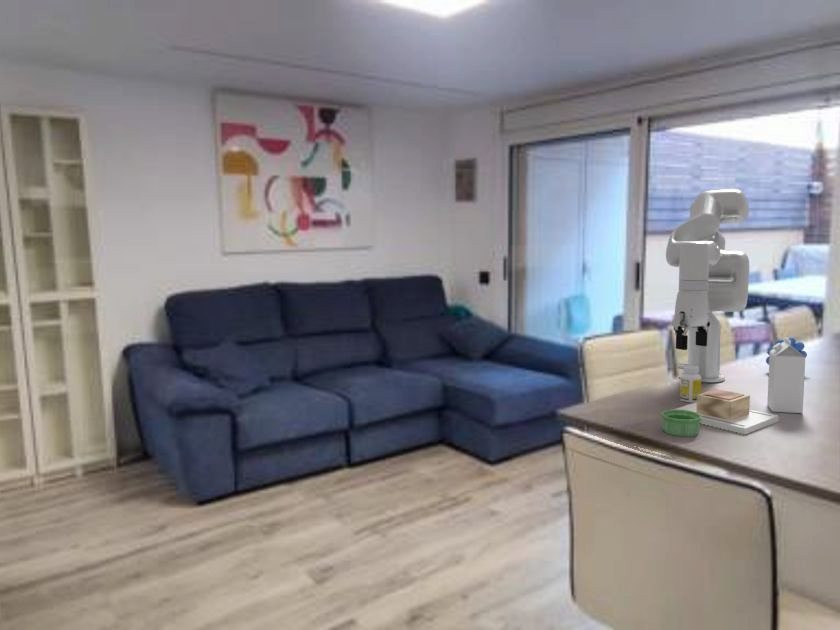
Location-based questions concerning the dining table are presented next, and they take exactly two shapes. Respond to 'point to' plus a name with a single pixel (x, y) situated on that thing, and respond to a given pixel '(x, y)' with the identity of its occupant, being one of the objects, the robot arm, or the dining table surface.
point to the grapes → (797, 346)
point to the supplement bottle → (690, 384)
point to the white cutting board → (736, 420)
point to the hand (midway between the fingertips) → (691, 347)
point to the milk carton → (786, 379)
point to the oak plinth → (723, 404)
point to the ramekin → (681, 422)
